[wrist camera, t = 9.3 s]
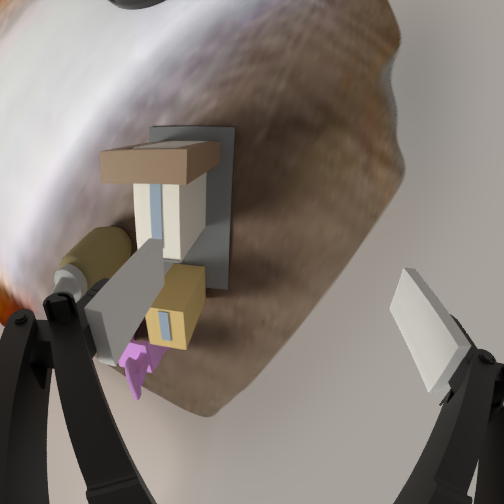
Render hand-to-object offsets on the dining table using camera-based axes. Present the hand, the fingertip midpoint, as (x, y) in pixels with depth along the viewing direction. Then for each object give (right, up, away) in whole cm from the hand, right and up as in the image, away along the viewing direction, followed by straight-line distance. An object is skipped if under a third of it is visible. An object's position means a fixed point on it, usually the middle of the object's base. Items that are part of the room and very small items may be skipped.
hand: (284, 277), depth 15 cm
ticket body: (-10, +11, +24) cm, 28 cm away
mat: (-11, +7, +26) cm, 29 cm away
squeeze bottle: (-23, +3, +29) cm, 38 cm away
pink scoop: (-21, -13, +36) cm, 44 cm away
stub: (-11, -3, +30) cm, 32 cm away
